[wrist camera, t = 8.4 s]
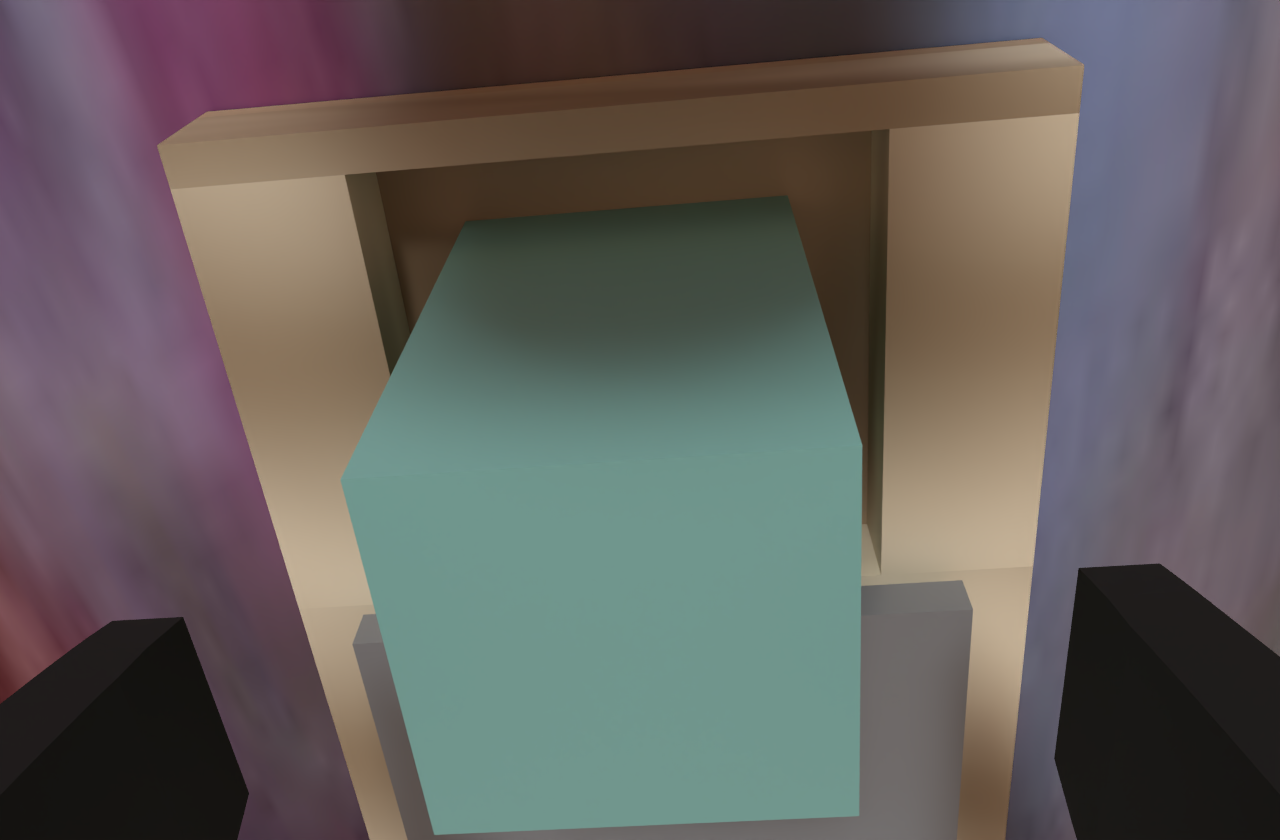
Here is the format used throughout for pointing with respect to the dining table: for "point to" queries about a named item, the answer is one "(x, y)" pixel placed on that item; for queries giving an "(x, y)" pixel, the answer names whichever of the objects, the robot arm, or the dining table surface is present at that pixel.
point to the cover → (889, 731)
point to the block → (620, 526)
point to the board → (653, 176)
